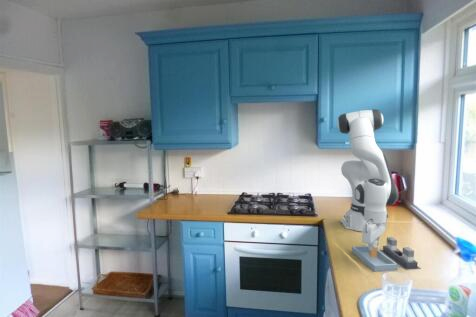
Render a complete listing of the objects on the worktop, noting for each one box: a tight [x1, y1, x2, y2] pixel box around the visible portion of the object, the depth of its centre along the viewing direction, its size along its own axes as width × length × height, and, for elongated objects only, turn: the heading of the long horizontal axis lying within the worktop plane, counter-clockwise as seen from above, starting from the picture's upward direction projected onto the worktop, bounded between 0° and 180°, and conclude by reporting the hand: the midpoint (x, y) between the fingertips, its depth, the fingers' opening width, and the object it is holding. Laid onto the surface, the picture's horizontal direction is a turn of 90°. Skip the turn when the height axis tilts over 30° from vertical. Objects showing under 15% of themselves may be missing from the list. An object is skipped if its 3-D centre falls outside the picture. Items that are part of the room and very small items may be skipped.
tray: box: [351, 245, 399, 273], centre depth 142 cm, size 20×10×4 cm, turn 6°
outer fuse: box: [402, 246, 415, 262], centre depth 137 cm, size 4×2×7 cm, turn 6°
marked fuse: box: [369, 240, 379, 258], centre depth 142 cm, size 4×2×7 cm, turn 167°
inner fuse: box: [386, 236, 398, 250], centre depth 149 cm, size 4×2×7 cm, turn 6°
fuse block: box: [379, 245, 422, 271], centre depth 144 cm, size 20×7×4 cm, turn 6°
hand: (373, 247), depth 142 cm, fingers closed on marked fuse, 5 cm apart
